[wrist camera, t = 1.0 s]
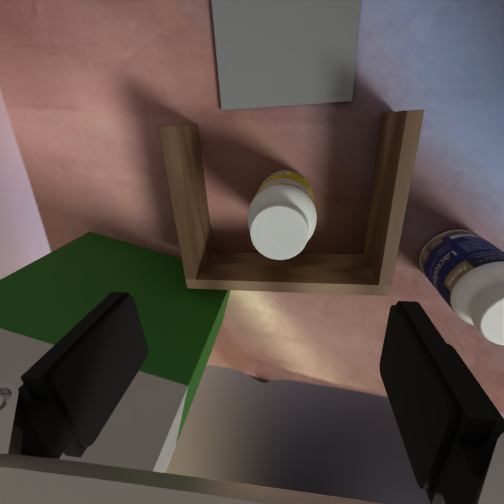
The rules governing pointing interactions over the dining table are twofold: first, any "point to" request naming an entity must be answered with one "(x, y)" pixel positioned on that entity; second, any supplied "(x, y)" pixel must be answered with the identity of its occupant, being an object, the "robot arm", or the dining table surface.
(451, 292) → the pill bottle
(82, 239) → the hardback book
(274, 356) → the dining table surface
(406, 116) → the wooden u-shaped frame
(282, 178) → the supplement bottle
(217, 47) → the grey mat
